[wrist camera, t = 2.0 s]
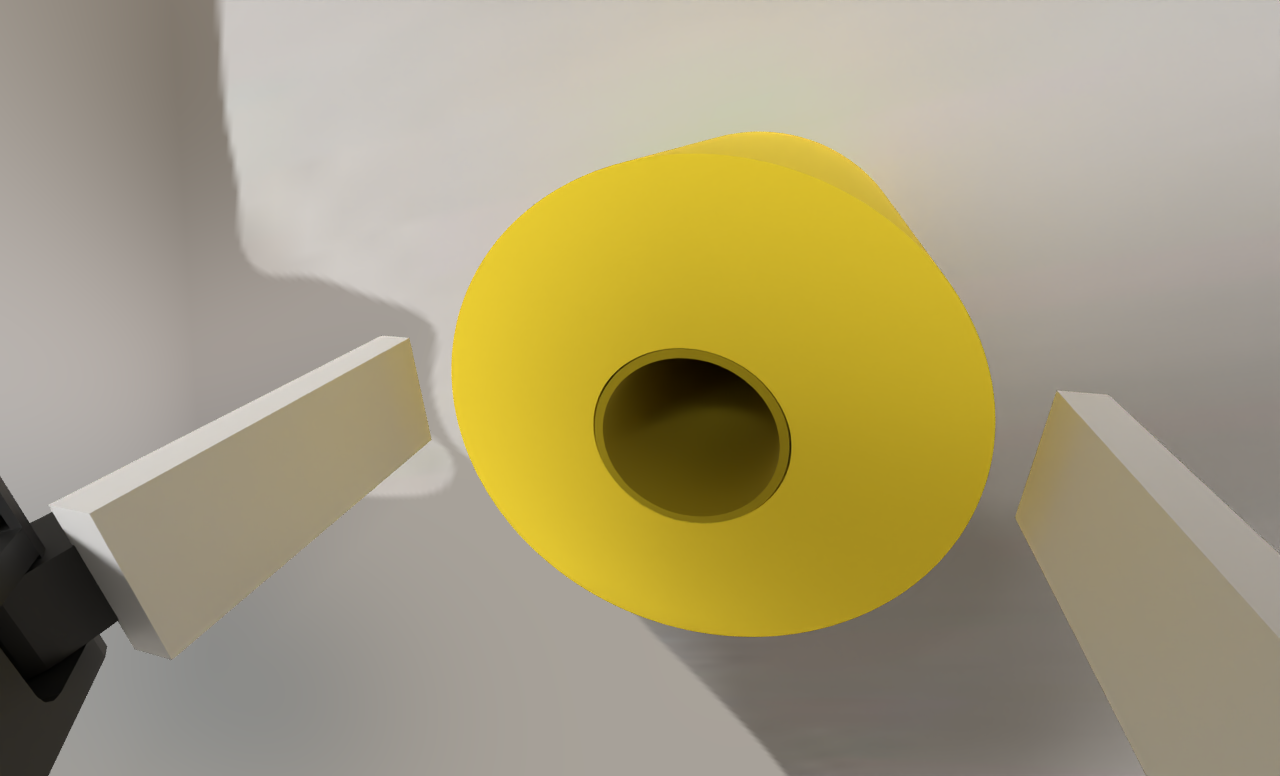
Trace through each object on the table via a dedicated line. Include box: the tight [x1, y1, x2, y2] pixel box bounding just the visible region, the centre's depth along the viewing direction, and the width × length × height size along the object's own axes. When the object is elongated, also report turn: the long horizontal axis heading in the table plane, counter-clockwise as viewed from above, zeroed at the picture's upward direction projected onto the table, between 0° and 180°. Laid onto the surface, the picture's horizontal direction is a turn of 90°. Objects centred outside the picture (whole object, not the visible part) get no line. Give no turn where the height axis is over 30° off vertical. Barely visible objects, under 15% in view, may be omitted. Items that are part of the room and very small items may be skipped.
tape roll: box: [452, 132, 995, 637], centre depth 14 cm, size 10×10×9 cm
